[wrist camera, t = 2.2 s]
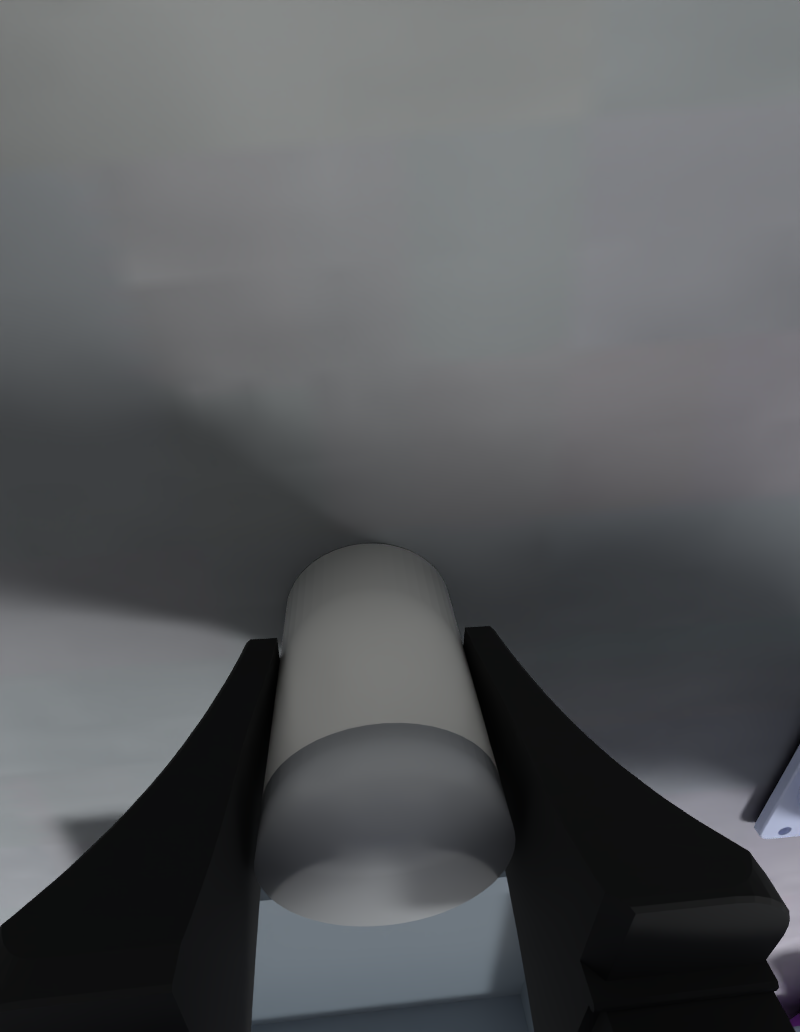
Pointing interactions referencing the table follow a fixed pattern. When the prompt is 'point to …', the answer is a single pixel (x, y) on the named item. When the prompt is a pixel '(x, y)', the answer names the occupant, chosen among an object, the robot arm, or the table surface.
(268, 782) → the cylinder
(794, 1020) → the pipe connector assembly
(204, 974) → the robot arm
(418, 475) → the table surface
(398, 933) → the tray
